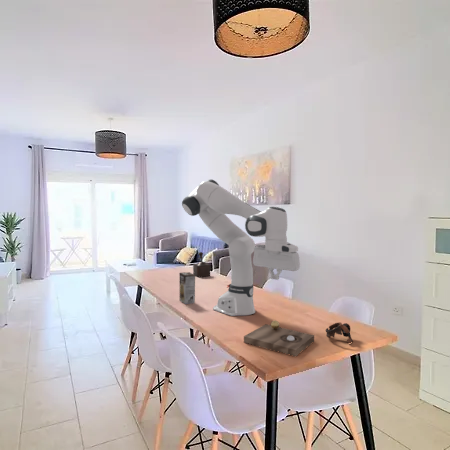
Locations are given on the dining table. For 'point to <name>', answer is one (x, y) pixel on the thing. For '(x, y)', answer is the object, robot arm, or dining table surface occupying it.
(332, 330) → the dark brown arched piece
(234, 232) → the robot arm
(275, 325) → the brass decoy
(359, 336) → the dining table surface
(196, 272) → the manual coffee grinder
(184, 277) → the coffee box
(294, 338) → the steel ball
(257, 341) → the seat plate
